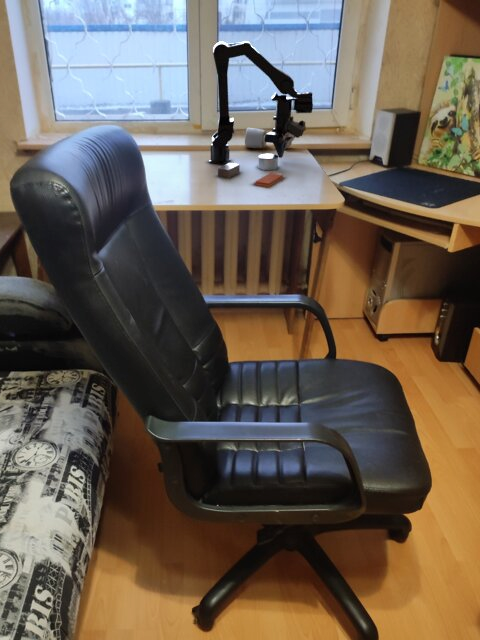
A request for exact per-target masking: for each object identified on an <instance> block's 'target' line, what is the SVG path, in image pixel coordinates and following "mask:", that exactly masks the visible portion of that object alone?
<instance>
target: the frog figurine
mask: <svg viewBox="0 0 480 640" xmlns="http://www.w3.org/2000/svg"><path fill="white" fill-rule="evenodd" d="M288 135H289V137H292V139H290V140H289V141H288V142H287V145H286V147H285V150H286V149H288V148H290V147H291V146H292V144H293V141H294V140H295V138H296V137H294V135H292V134H290V133H288Z"/></svg>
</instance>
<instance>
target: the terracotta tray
mask: <svg viewBox="0 0 480 640" xmlns="http://www.w3.org/2000/svg"><path fill="white" fill-rule="evenodd" d="M283 179H284V175H283V174H279V173H273V172H270V173H268V174H265V175H264V176H262V177H260V178H259V179H257V180H255V182H254V183H253V185H254V186H258V187H264V188H269V187H271V186H273V185H274V184H277V183H278V182H280V181H282V180H283Z"/></svg>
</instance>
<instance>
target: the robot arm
mask: <svg viewBox="0 0 480 640" xmlns="http://www.w3.org/2000/svg"><path fill="white" fill-rule="evenodd" d="M212 50H213V51H212V54H213V55H212V56H213V60H214V64H215V69H216V75H217V89H218V90H217V94H218V95H217V96H218V113H219V114H218V119H217V120H218V121H217V129H216V132H215V133H214V134H213V135H212V136H211V144H210V159H209V160H208V163H211V164H217V165H225V163H226V164H227V163H229V162H230V161H231V158H230V149H229V146H230V145H229V144H228V143H229V142H230V141H231V140H232V139H233V135H234V134H235V128H234V127H235V126H234V125H235V119H234V117H230V107H229V105H230V103H229V78H228V71H229V64H230V59H234V58H237V57H243V56H245V57H246V58H247V59H248V60H249V61H250V62H252V63H253V64H254V65H255V66H256V67H257V68H258V69H259V70H260V71H261V72H263V74H265V75H266V76H267V77H268V78H269V80H270V81H271V82H272V83H273V85H274V86H275V87H276V89H277V90H278V91H279V93H280V94H278V93H277V92H274V94H272V96H271V97H270V99H271V101H272V102H275V115H274V116H273V117H272V120H273V121H274V127H273V128H272V131H269V132H267V134H266V135H265V136H264V142H266V143H270V144H272V145H273V146H274V149H275V151H276V153H277V154H276V155H277V156H278V159H279V158H281V159H282V158H283V156H284V153H285V151H286V149H285V147H286V145H287V142H288V141H289V140H290V139H292V137H289V135H288V133H290V134H292V135H294V137H295V138H300V137H302V136H303V135H304V133H305V131H306V130H307V126H306V121H305V120H303V119H302V120H300V121H299V122H298V121H295V120H294V116H293V115H292V111H295V114H312V113H313V108H314V104H313V92H311V91H309V92H298V91H297V89H295V81H294V79H293V78H292V76H290V75H289V74H287V73H286V72H285V71H282V70H281V69H280V68H277V67H276V66H274V65H273V64H272V63H271V61H269V60H267V58H266V57H264V55H263V54H261V53H260V52H259V51H258V50H257V49H256V48H255V47H253V46H252V44H251V43H250V41H247V40H244V41H240V42H232V43H226V42H224V41H219V42H217V43H216V44H215V45H213V49H212ZM287 95H288V96H287ZM289 96H290V97H289Z"/></svg>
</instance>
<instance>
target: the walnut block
mask: <svg viewBox="0 0 480 640" xmlns="http://www.w3.org/2000/svg"><path fill="white" fill-rule="evenodd" d="M240 167H241V165H240V163H233V162H226V164H225V163H224V164H222V165H221V166H219V167H217V177H218V178H223V179H231V178H232V177H234V176H236V175H238V174H240Z"/></svg>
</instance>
